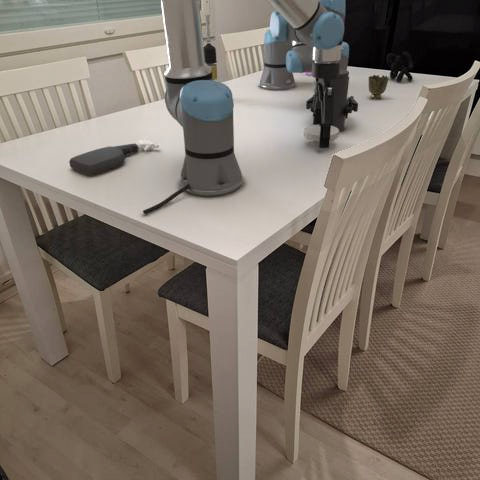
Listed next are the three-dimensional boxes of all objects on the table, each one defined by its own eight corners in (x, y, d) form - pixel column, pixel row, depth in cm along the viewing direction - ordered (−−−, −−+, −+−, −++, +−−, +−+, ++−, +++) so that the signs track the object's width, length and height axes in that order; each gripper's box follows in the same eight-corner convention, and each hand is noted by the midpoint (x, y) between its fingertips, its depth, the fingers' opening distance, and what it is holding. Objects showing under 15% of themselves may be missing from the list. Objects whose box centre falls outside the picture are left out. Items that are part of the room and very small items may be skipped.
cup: (363, 99, 174) (366, 77, 170) (368, 94, 179) (371, 73, 175) (383, 101, 171) (386, 79, 167) (387, 96, 176) (390, 75, 172)
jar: (318, 133, 141) (323, 75, 132) (312, 124, 149) (316, 68, 140) (346, 132, 142) (353, 74, 132) (339, 123, 149) (345, 68, 140)
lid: (345, 135, 131) (346, 129, 130) (325, 144, 124) (325, 138, 124) (317, 127, 137) (317, 122, 136) (296, 136, 130) (296, 130, 130)
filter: (220, 99, 177) (217, 15, 161) (206, 100, 176) (202, 16, 160) (215, 96, 182) (212, 14, 166) (202, 97, 180) (197, 14, 164)
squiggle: (400, 92, 202) (376, 71, 205) (417, 76, 202) (392, 56, 205) (405, 81, 191) (380, 59, 194) (423, 64, 191) (397, 42, 194)
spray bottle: (67, 168, 120) (139, 144, 136) (91, 178, 114) (163, 151, 130) (65, 157, 118) (137, 134, 134) (89, 167, 112) (162, 142, 128)
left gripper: (350, 69, 110) (341, 154, 122) (331, 53, 129) (325, 128, 141) (320, 70, 110) (314, 155, 122) (305, 54, 129) (301, 129, 141)
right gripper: (364, 107, 157) (365, 126, 138) (301, 104, 161) (294, 123, 142) (367, 85, 153) (368, 102, 134) (303, 82, 157) (295, 99, 138)
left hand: (320, 141), depth 131 cm, fingers closed on lid, 10 cm apart
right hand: (330, 113), depth 138 cm, fingers closed on jar, 9 cm apart
